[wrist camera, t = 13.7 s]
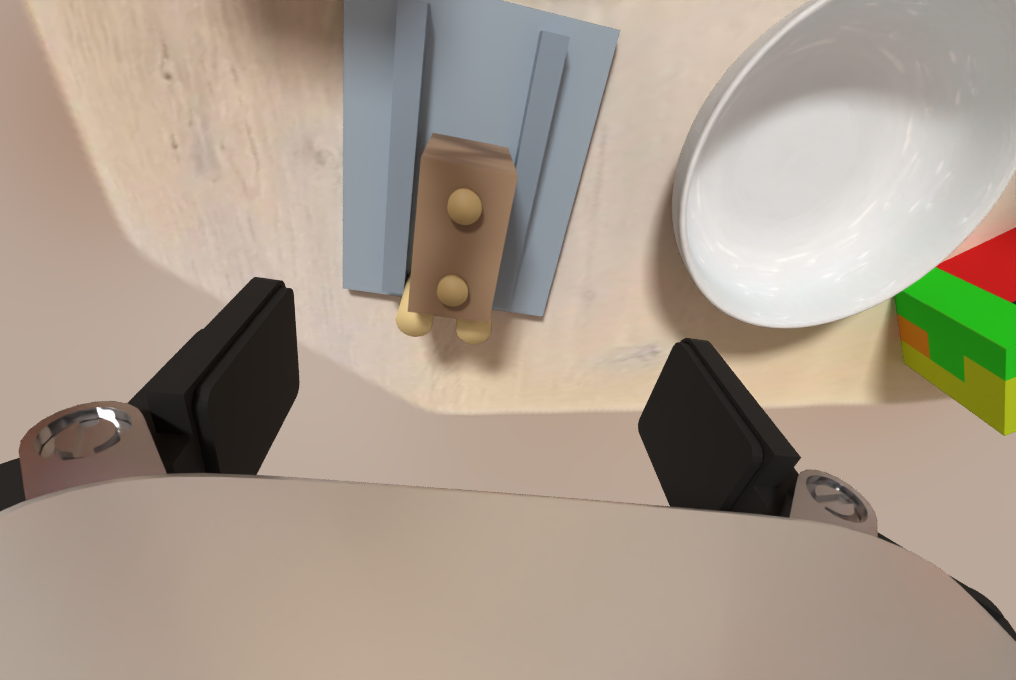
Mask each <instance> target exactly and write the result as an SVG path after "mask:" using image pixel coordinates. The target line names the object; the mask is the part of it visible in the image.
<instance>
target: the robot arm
mask: <svg viewBox="0 0 1016 680" xmlns="http://www.w3.org/2000/svg"><path fill="white" fill-rule="evenodd" d="M298 390H299V368H298V352H297V336H296V321H295V305H294V293H293V290H292V289H291V288H286V287H285V284H284V282H283V281H280V280H273V279H266V278H259V277H254V278H253V279H251V280H250V281H249V283H248V284H247V285H246V286H245V287H244V288H243V289H242V290H241V291H240V292H239V293H238V294H237V295H236V296H235V297H234V298H233V299H232V300H231V301H230V302H229V303H228V304H227V305H226V306H225V307H224V308H223V310H221V312H219V313H218V315H217V316H216V317H215V318H214V319H213V320H212V321H211V322H210V323H209V324H208V325H207V326H206V327H205V328H204V329H201V330H200V331H198V332H197V333H196V334H195V335H194V336H193V337H192V338H191V339H190V340H189V341H188V342H187V343H186V344H185V345H184V346H183V347H182V348H181V349H180V350H179V351H178V352H177V353H176V354H175V355H174V356H173V357H172V358H171V359H170V360H169V361H168V362H167V363H166V365H165V366H164V367H162V368H161V369H160V370H159V371H158V373H157V374H156V375H155V376H154V377H153V378H152V379H151V380H150V381H149V382H148V383H147V384H146V385H145V386H144V387H143V388H142V389H141V390H140V391H139V392H138V393H137V394H136V395H135V396H134V397H133V398H132V399H131V400H130V401H129V402H128V403H122V402H116V401H99V402H91V403H86V404H80V405H76V406H73V407H71V408H67V409H64V410H61V411H59V412H57V413H55V414H53V415H51V416H49V417H47V418H45V419H43V420H41V421H40V422H39V423H37V424H36V425H35V426H33V427H32V428H31V429H29V430H28V432H27V433H26V434H25V436H24V437H23V438H22V440H21V442H20V447H19V457H20V458H18V459H14V460H11V461H8V462H5V463H2V464H0V680H1016V633H1015V631H1014V630H1013V628H1012V627H1011V625H1010V624H1009V622H1008V621H1007V620H1006V619H1005V618H1004V616H1003V615H1002V613H1001V612H1000V611H999V609H998V608H997V607H996V606H995V605H994V604H993V603H992V602H991V601H990V600H989V599H988V598H986V597H985V596H984V595H982V594H981V593H979V592H978V591H976V590H974V589H972V588H969V587H968V586H966V585H964V584H963V583H961V582H959V581H958V580H956V579H954V578H953V577H951V576H949V575H948V574H946V573H945V572H944V571H943V570H941V569H940V568H938V567H937V566H936V565H934V564H933V563H931V562H929V561H927V560H925V559H923V558H922V557H920V556H918V555H916V554H914V553H912V552H910V551H908V550H906V549H905V548H903V547H901V546H900V545H898V544H896V543H895V542H893V541H891V540H890V539H888V538H886V537H885V536H883V535H881V534H880V533H878V532H877V518H876V514H875V512H874V510H873V508H872V507H871V505H870V504H869V502H868V501H867V500H866V499H865V498H864V497H863V496H862V495H861V494H860V493H859V492H858V491H857V490H855V489H854V488H853V487H852V486H850V485H849V484H847V483H846V482H844V481H842V480H841V479H839V478H838V477H835V476H833V475H831V474H828V473H826V472H822V471H819V470H805V471H802V472H800V474H798V473H797V471H796V470H795V469H794V466H795V465H796V464H797V462H798V461H799V460H800V458H801V457H800V456H799V454H798V453H797V452H796V451H795V449H794V448H793V447H792V446H791V445H790V443H789V442H788V440H787V439H786V438H785V437H784V435H783V434H782V433H781V432H780V431H779V429H778V428H777V427H776V426H775V424H774V423H773V422H772V420H771V419H770V418H769V416H768V415H767V414H766V413H765V411H764V410H763V409H762V408H761V406H760V405H759V404H758V403H757V401H756V400H755V399H754V397H753V396H752V395H751V394H750V392H749V391H748V390H747V389H746V387H745V386H744V385H743V384H742V382H741V381H740V380H739V379H738V377H737V376H736V375H735V373H734V372H733V371H732V370H731V368H730V367H729V366H728V365H727V363H726V362H725V361H724V360H723V358H722V357H721V356H720V354H719V353H718V352H717V351H716V349H715V348H714V347H713V346H712V344H711V343H710V342H709V341H705V340H698V339H691V338H685V339H683V340H682V341H681V342H678V343H676V344H675V345H674V346H673V348H672V350H671V352H670V354H669V356H668V359H667V361H666V363H665V365H664V367H663V369H662V372H661V374H660V376H659V378H658V380H657V382H656V384H655V387H654V389H653V391H652V393H651V395H650V397H649V400H648V402H647V404H646V406H645V408H644V410H643V412H642V415H641V417H640V419H639V423H638V430H639V434H640V436H641V439H642V441H643V443H644V446H645V448H646V451H647V453H648V455H649V458H650V460H651V462H652V465H653V467H654V470H655V472H656V474H657V477H658V479H659V481H660V484H661V486H662V489H663V491H664V493H665V496H666V498H667V500H668V503H669V505H670V506H658V505H646V504H634V503H623V502H611V501H599V500H587V499H574V498H562V497H549V496H536V495H523V494H511V493H499V492H486V491H485V492H484V491H472V490H460V489H446V488H433V487H419V486H406V485H393V484H378V483H366V482H351V481H338V480H325V479H311V478H297V477H283V476H264V475H257V472H258V471H259V469H260V467H261V465H262V463H263V461H264V459H265V457H266V455H267V453H268V451H269V449H270V447H271V445H272V443H273V441H274V439H275V438H276V436H277V434H278V432H279V430H280V428H281V426H282V424H283V422H284V420H285V418H286V416H287V414H288V412H289V410H290V408H291V407H292V405H293V403H294V401H295V399H296V397H297V394H298Z"/></svg>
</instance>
